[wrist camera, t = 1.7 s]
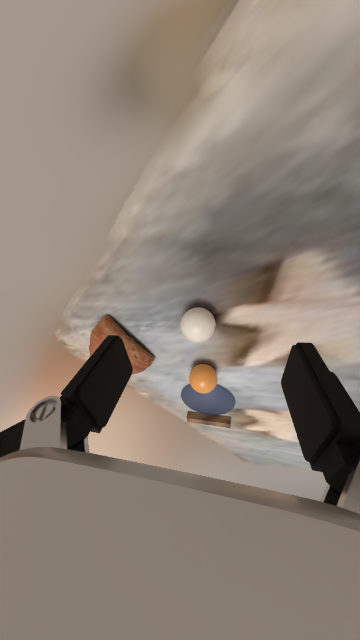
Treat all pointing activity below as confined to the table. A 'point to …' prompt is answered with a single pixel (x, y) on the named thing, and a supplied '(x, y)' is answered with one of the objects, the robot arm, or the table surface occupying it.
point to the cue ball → (198, 324)
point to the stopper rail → (209, 419)
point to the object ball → (203, 378)
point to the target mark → (209, 400)
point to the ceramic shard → (134, 350)
